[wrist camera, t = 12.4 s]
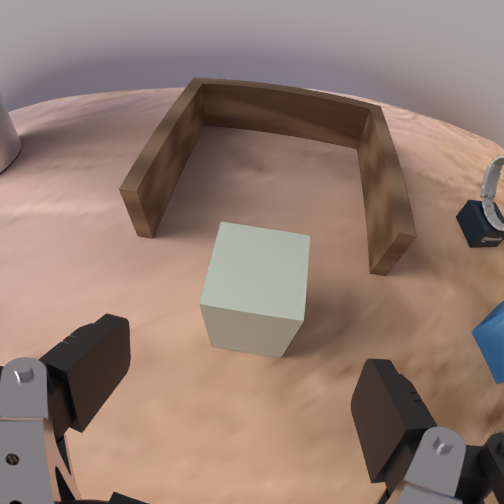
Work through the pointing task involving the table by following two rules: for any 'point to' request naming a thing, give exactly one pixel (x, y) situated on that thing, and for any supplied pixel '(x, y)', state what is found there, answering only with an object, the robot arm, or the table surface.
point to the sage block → (255, 289)
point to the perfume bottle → (492, 341)
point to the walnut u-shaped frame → (281, 122)
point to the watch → (484, 212)
